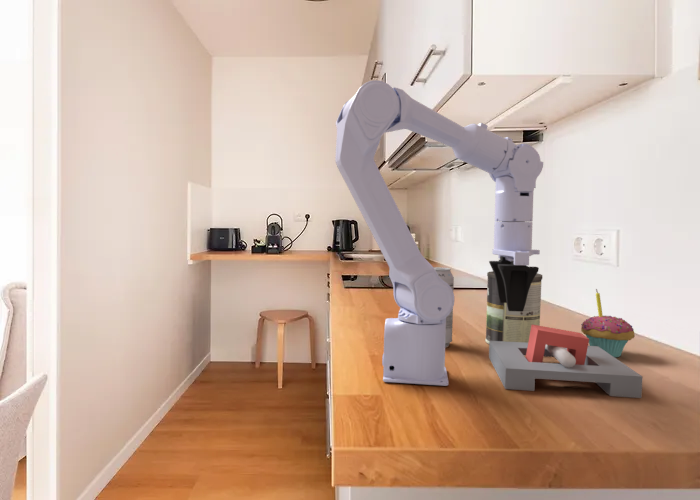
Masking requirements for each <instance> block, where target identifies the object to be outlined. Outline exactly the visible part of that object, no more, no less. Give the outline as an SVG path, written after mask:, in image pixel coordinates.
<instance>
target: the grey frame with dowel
mask: <svg viewBox="0 0 700 500" xmlns="http://www.w3.org/2000/svg"><path fill="white" fill-rule="evenodd" d="M527 347H528V343H525V342H506V341H489V344H488V358H489V360H490V362H491V365H492V366H493V368H494V370H495V372H496V373H497V376H498V377H499V379H500V382H501V383H502V385H503V388H504V389H505V390H517V391H531V392H532V391H533V392H535V385H536V384H535V383H536V381H535V380H536V379H538V380H551V381H552V380H555V381H571V382H573V381H574V382H583V383H585V382H586V383H587V382H588V383H595V384H596V385H597V386H598V387H599V388H601V390H603V391H604V392H605V393H606V394H607V395H609V396H610V397H619V398H621V397H622V398H632V399H633V398H637V399H642V394H643V376H642V375H641V374H640V373H638V372H637V371H635V370H634V369H632V368H630V366H628V365H626V364H625V363H623V362H622V361H620V360H619V359H617V357H613V356H612V355H610V354H609V353H607V352H606V351H604V350H603V349H601V348H600V347H598V346H590V345H588V348H587V353H586V359H585V364H584V365H575V363H576V359H575V357H574V356H573V355H571V354H570V353H569V352H568V351H567V348H563V347H557V346H552V345H546V346H545V351H544V356H543V357H545V358H546V357H548V358H549V357H550V358H555V360H557V363H554V362H551V363H550V362H542V363H540V362H528V360H527V359H526V353H527ZM558 362H559V363H558Z"/></svg>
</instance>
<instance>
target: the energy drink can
mask: <svg viewBox="0 0 700 500" xmlns="http://www.w3.org/2000/svg"><path fill="white" fill-rule="evenodd" d="M434 269H435V270H436V272H437V274H438V276H439V277H440V278H441V279H442V280H443V281H445V282H446V283H448V284H449V285H450V287H451V288H452V290H453V291H454V284H455V283H454V282H455V281H454V279H455V278H454V275H453V273H452V271H451V269H452V268H450V267H441V266H440V267H439V266H438V267H436V266H434ZM453 316H454V308H453V309H452V311H451V312H450V314H449V315H448V316H447V317H446V334H445V348H448V347H449V346H450V344H451V343H452V342H453V318H454V317H453Z"/></svg>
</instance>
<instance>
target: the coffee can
mask: <svg viewBox="0 0 700 500" xmlns="http://www.w3.org/2000/svg"><path fill="white" fill-rule="evenodd" d="M486 274H487V275H486V276H487V283H486V284H487V289H486V290H487V291H486V292H487V293H486V325H485V326H486V327H485V328H486V329H485V340H484V341H485V343H487V344H488V345H489V341H506V342H525V343H528V342H529V336H530V331H531V325H538V326H541V324H540V323H541V305H542V304H541V303H542V301H541V300H542V280H543V274H541V273H538V272H537V274H536V275H535V277H534V279H533V281H532V283H531V286H530V288H529V292H528V295H527V300H526V304H525V307H524V310H523V312H520V311H509V310H508V307H507V303H501V302H500V300H499V296H498V290H497V284H496V279H495V275H494V272H493V270H491V271H487V273H486Z"/></svg>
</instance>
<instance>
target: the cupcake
mask: <svg viewBox="0 0 700 500" xmlns="http://www.w3.org/2000/svg"><path fill="white" fill-rule="evenodd" d="M595 291H596V292H595V299H596V307H597V313H598V315H597V316H595V315H594V316H590V317H589V318H587V319H586V318H585V320H583V322H582V323H581V328H580V329H581V333H583V335H584V336H586V337H587V338H589V343H588V346H598V347H600V348H601V349H603V350H604V351H606V352H607V353H609V354H610V355H612V356H613V357H615V358H619V357H621V356H622V353H623V351H624V348H625V346H626V344H627V343H628V342H629V341H631V340H632V339H635V330H634V328H633V325H631V324H630V323H628V321H627V320H625V319H623V318H622V317H616V316H611V315H603V309H602V302H601V301H602V300H601V294H600V293H599V292H598V289H597V288H595Z"/></svg>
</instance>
